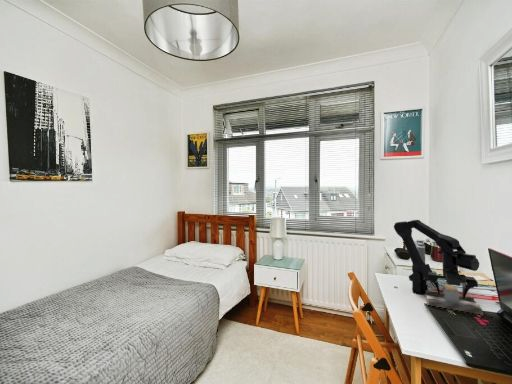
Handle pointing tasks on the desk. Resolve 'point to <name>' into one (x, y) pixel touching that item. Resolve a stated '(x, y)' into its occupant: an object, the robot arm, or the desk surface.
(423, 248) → the flask
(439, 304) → the rail board
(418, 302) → the desk surface
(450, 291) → the module
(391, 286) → the desk surface
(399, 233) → the robot arm
